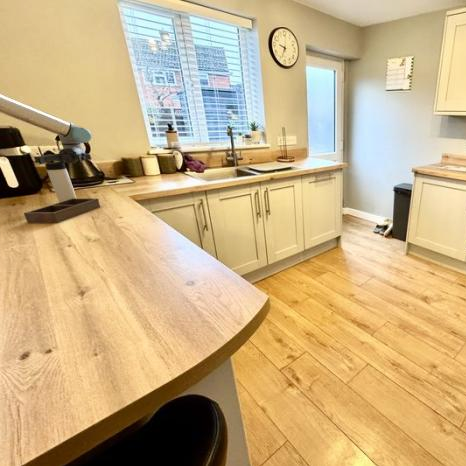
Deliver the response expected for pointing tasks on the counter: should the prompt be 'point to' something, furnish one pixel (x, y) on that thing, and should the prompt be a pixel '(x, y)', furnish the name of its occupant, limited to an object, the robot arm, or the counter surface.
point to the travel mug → (60, 181)
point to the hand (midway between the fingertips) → (59, 160)
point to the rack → (62, 210)
